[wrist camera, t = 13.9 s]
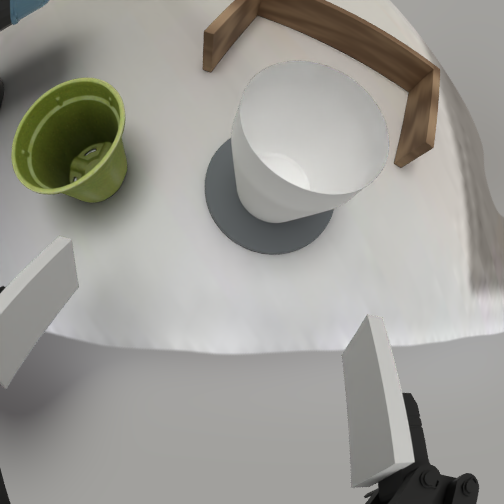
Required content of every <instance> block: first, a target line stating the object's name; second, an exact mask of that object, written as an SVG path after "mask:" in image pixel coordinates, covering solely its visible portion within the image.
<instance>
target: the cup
mask: <svg viewBox="0 0 504 504" xmlns="http://www.w3.org/2000/svg"><path fill="white" fill-rule="evenodd" d="M231 145H232V154H233V163H234V171H235V179H236V186H237V193H238V196H239V199H240V201H241V203H242V205H243V206H244V207H245V209H246V210H247V211H248V212H249V213H250V214H252V215H253V216H254V217H256V218H258V219H260V220H262V221H265V222H270V223H282V222H287V221H291V220H295V219H298V218H302V217H306V216H310V215H314V214H318V213H321V212H325V211H328V210H332V209H334V208H337V207H339V206H341V205H343V204H345V203H346V202H348V201H349V200H351V199H352V198H353V197H354V196H355V195H356V194H357V193H358V192H360V191H361V190H362V189H363V188H365V187H366V186H367V185H369V184H370V183H371V182H373V181H374V180H375V179H376V178H377V177H378V175H379V174H380V173H381V171H382V170H383V168H384V166H385V164H386V161H387V158H388V153H389V135H388V130H387V126H386V122H385V120H384V117H383V115H382V113H381V111H380V109H379V107H378V106H377V104H376V103H375V101H374V100H373V98H372V97H371V96H370V95H369V94H368V92H367V91H366V90H365V89H364V88H363V87H362V86H360V85H359V84H358V83H357V82H356V81H354V80H353V79H352V78H350V77H349V76H347V75H346V74H344V73H342V72H340V71H338V70H336V69H334V68H332V67H329V66H326V65H323V64H320V63H316V62H310V61H286V62H281V63H277V64H274V65H271V66H269V67H267V68H265V69H264V70H262V71H260V72H259V73H258V74H257V75H255V76H254V77H253V78H252V79H251V81H250V82H249V83H248V85H247V86H246V88H245V90H244V92H243V95H242V98H241V101H240V104H239V107H238V110H237V113H236V116H235V119H234V122H233V126H232V132H231Z"/></svg>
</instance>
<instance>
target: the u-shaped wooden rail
mask: <svg viewBox="0 0 504 504" xmlns="http://www.w3.org/2000/svg"><path fill="white" fill-rule="evenodd" d="M257 15H258V16H261V17H264V18H267V19H269V20H272V21H275V22H277V23H280V24H282V25H285V26H287V27H290V28H292V29H295V30H297V31H299V32H302V33H304V34H306V35H308V36H311V37H313V38H315V39H317V40H319V41H321V42H324V43H326V44H328V45H330V46H332V47H334V48H336V49H338V50H340V51H341V52H343V53H345V54H347V55H349V56H351V57H353V58H354V59H356V60H358V61H360V62H362V63H363V64H365V65H367V66H369V67H370V68H372V69H374V70H375V71H377V72H379V73H380V74H382V75H383V76H385V77H387V78H388V79H390V80H391V81H393V82H394V83H396V84H397V85H399V86H400V87H402V88H403V89H405V90H406V91H408V92H409V94H408V100H407V105H406V110H405V116H404V121H403V126H402V130H401V135H400V140H399V144H398V148H397V153H396V157H395V161H394V164H396V165H397V166H399V167H400V168H402V167H403V166H405V165H406V164H408V163H410V162H411V161H413V160H415V159H416V158H418V157H419V156H421V155H423V154H424V153H426V152H428V151H429V150H431V149H432V148H433V147H434V140H435V132H436V123H437V112H438V100H439V83H440V69H439V68H438V67H436V66H435V65H434V64H432V63H431V62H430V61H428V60H427V59H426V58H424V57H423V56H421V55H420V54H419V53H417V52H416V51H414V50H413V49H411V48H410V47H408V46H407V45H405V44H404V43H402V42H401V41H399V40H398V39H396V38H395V37H393V36H391V35H390V34H388V33H386V32H385V31H383V30H381V29H380V28H378V27H376V26H375V25H373V24H371V23H369V22H367V21H366V20H364V19H362V18H360V17H358V16H356V15H354V14H352V13H350V12H348V11H346V10H344V9H342V8H340V7H338V6H336V5H334V4H332V3H330V2H327V1H325V0H235V1H234V2H233V3H231V4H230V5H229V6H228V7H227V8H226V9H225V10H224V11H223V12H222V13H221V14H220V15H219V16H218V17H217V18H216V19H215V20H214V21H213V22H212V23H211V24H210V26H209V27H208V28H207V29H206V30H205V31H204V45H203V70H206V71H209V72H212V70H213V69H214V68H215V66H216V65H217V64H218V62H219V61H220V60H221V59H222V57H223V56H224V55H225V53H226V52H227V51H228V50H229V48H230V47H231V46H232V45H233V44H234V42H235V41H236V40H237V39H238V37H239V36H240V35H241V34H242V33H243V31H244V30H245V29H246V28H247V27H248V26H249V24H250V23H251V22H252V21H253V20H254V19H255V18H256V17H257Z"/></svg>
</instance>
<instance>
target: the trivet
mask: <svg viewBox="0 0 504 504" xmlns="http://www.w3.org/2000/svg"><path fill="white" fill-rule="evenodd" d="M205 196H206V202H207V205H208V209H209V211H210V213H211V216H212V218H213V219H214V221H215V223H216V224H217V226H218V227H219V228H220V229H221V231H222V232H223V233H224V234H225V235H226V236H227V237H229V238H230V239H231V240H232V241H234V242H235V243H237V244H238V245H240V246H242V247H244V248H246V249H249V250H251V251H255V252H259V253H264V254H283V253H289V252H292V251H295V250H298V249H300V248H302V247H304V246H306V245H308V244H309V243H311V242H312V241H314V240H315V239H316V238H317V237H318V236H319V235H320V234H321V233H322V232H323V231H324V229H325V228H326V226H327V225H328V223H329V221H330V219H331V216H332V213H333V210H334V209H332V210H328V211H325V212H321V213H318V214H314V215H310V216H306V217H302V218H298V219H295V220H291V221H287V222H282V223H270V222H265V221H262V220H260V219H258V218H256V217H254V216H253V215H252V214H250V213H249V212H248V211H247V210H246V209H245V207H244V206H243V205H242V203H241V201H240V199H239V196H238V193H237V186H236V179H235V171H234V163H233V154H232V145H231V138H230V139H229V140H227V141H226V142H225V143H224V144H223V145H222V146H221V147H220V148H219V149H218V150H217V151H216V153H215V154H214V156H213V157H212V159H211V161H210V164H209V166H208V169H207V173H206V179H205Z"/></svg>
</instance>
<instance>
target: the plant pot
mask: <svg viewBox="0 0 504 504" xmlns="http://www.w3.org/2000/svg"><path fill="white" fill-rule="evenodd" d="M124 125H125V109H124V104H123V101H122V99H121V97H120V95H119V93H118V92H117V91H116V89H115V88H114V87H112V86H111V85H110V84H108V83H107V82H105V81H102V80H99V79H96V78H78V79H73V80H69V81H66V82H63V83H61V84H59V85H57V86H55V87H53V88H52V89H50V90H48V91H47V92H46V93H44V94H43V95H42V96H41V97H40V98H39V99H38V100H37V101H35V103H34V104H33V105H32V106H31V107H30V108H29V109H28V111H27V112H26V114H25V115H24V117H23V118H22V120H21V122H20V124H19V126H18V128H17V130H16V133H15V136H14V140H13V144H12V153H11V158H12V165H13V169H14V172H15V174H16V176H17V178H18V179H19V181H20V182H21V183H22V184H23V185H24V186H25V187H27V188H28V189H30V190H32V191H34V192H37V193H41V194H59V193H63V194H66V195H68V196H71V197H74V198H76V199H79V200H82V201H85V202H89V203H94V202H100V201H103V200H105V199H107V198H109V197H110V196H112V195H113V194H114V193H115V192H116V191H117V190H118V189H119V188H120V186H121V184H122V182H123V180H124V178H125V175H126V172H127V160H126V155H125V151H124V147H123V143H122V134H123V130H124ZM92 149H96V151H94V152H91V153H89V154H88V155H86V156H85V154H86V153H87V152H88V151H90V150H92ZM75 176H76V177H77V181H75V182H74V177H75Z"/></svg>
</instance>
